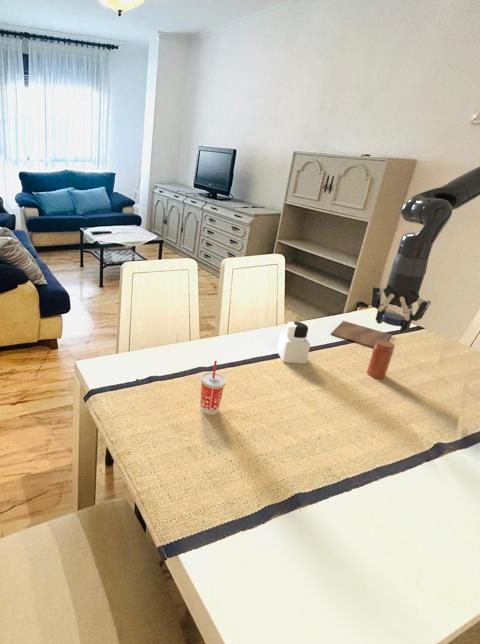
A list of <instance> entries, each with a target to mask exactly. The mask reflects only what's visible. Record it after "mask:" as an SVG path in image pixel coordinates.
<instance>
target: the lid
mask: <svg viewBox="0 0 480 644" xmlns="http://www.w3.org/2000/svg"><path fill="white" fill-rule="evenodd" d="M404 319H405V317H404V315H402V314H399V313H396V312H390V311H386V312H384V313H383V314H382V317H381V320H382V321H383V322H382V323H384V324H386V325H391V326H395V327H401V326H402V322H403V320H404Z"/></svg>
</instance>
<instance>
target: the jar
mask: <svg viewBox="0 0 480 644" xmlns="http://www.w3.org/2000/svg"><path fill="white" fill-rule="evenodd" d="M394 350H395V344H394V343H392V342H390V341H388V340H387V341H385V340H377V341H376V344H375V346H374V348H372V352H371V355H370V359H369V362H368V364H367V365H368V366H367V369H366V374H367V375H368V376H370V378H371V377H372V378H374V379H378V380H384V379H385V378H386V376H387V373H388V371H389V370H388V369H389V367H390V364H391V361H392V357H393V354H394Z"/></svg>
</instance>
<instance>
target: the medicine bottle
mask: <svg viewBox="0 0 480 644" xmlns="http://www.w3.org/2000/svg"><path fill="white" fill-rule="evenodd" d="M285 329H286V330H285V332H280V334H279V339H278V344H277V347H276V352H277V354H278V356H279V358H280V360H281V361H282V362H283V363H285V364H288V363H289V364H299V365H301V364H302V365H306V364H307V361H308V357H309V353H310V349H311V343H310V342H309V340H308V339H307V336H308V331H309V327H308V325H307V324H305V323H303V322H301V321H289V322H287V324H286V328H285Z"/></svg>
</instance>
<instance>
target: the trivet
mask: <svg viewBox="0 0 480 644" xmlns="http://www.w3.org/2000/svg"><path fill="white" fill-rule="evenodd" d="M330 335H331V336H333V337H337V338H340V339H343V340H346V341H349V342H353V343H356V344H358V345H362V346H365V347H369V348H372V349H374V346H375V344H376V341H377V340H385V341H388V340H389V339H390V337H391V333H387V332H384V331H381V330H376V329H373V328H370V327H366V326H363V325H359V324H356V323H353V322H349V321H346V320H342V321H341V323H339V324H338V325H337V327H336V328H335V329H333V330H332V332H331V333H330Z"/></svg>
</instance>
